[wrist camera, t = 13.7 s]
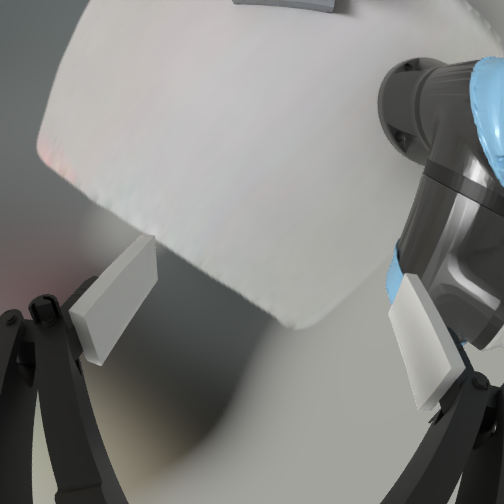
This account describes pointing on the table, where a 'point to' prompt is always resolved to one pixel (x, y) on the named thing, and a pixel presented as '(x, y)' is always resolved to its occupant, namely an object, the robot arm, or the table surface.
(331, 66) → the table surface
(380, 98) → the robot arm
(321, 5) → the tray
